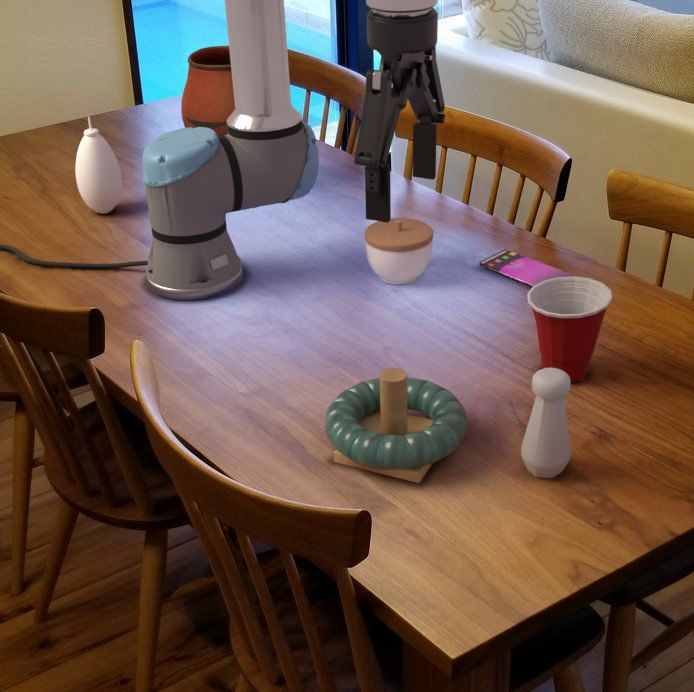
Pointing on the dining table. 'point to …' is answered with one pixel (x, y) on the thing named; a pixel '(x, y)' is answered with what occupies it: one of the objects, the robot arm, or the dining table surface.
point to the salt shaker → (547, 425)
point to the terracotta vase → (208, 90)
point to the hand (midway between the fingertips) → (402, 197)
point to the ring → (396, 448)
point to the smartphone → (522, 268)
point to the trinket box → (398, 249)
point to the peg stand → (392, 422)
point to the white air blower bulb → (97, 172)
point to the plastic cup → (568, 321)
